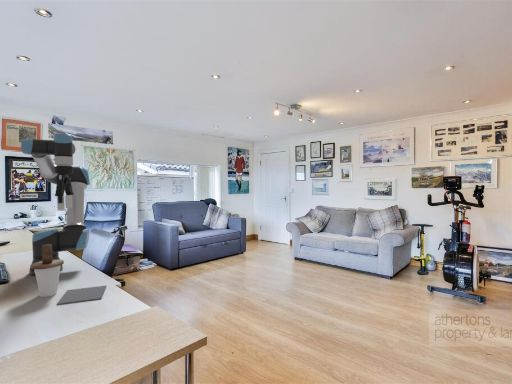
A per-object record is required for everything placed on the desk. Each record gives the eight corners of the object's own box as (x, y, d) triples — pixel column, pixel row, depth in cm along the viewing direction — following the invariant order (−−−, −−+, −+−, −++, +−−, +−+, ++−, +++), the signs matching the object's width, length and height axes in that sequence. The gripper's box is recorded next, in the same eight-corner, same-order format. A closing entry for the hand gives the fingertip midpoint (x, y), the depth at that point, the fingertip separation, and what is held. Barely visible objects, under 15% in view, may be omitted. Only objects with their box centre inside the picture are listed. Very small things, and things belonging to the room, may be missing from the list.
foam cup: (47, 299, 122) (46, 268, 122) (29, 297, 124) (28, 267, 123) (66, 290, 131) (65, 262, 131) (49, 289, 133) (48, 261, 133)
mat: (67, 291, 131) (67, 290, 131) (106, 286, 137) (106, 285, 137) (56, 305, 116) (56, 303, 116) (101, 299, 122) (101, 298, 122)
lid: (35, 263, 131) (35, 243, 130) (66, 260, 135) (66, 241, 135) (25, 270, 119) (25, 249, 119) (59, 267, 124) (59, 246, 124)
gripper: (62, 167, 151) (63, 207, 151) (46, 163, 127) (47, 211, 128) (78, 167, 153) (79, 206, 154) (65, 164, 130) (67, 210, 131)
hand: (65, 209), depth 141 cm, fingers open, 13 cm apart
